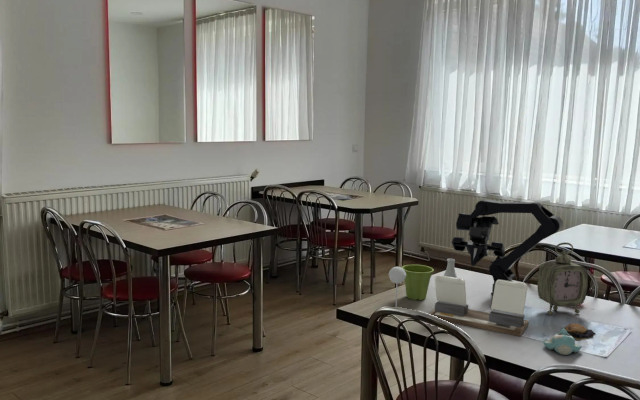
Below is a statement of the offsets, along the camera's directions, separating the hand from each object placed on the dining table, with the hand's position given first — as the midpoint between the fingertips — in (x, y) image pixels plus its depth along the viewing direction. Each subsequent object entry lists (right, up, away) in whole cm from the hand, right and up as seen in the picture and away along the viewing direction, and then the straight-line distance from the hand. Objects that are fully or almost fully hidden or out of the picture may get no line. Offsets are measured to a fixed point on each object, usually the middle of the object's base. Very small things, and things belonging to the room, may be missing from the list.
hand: (472, 265), depth 213 cm
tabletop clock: (+28, -16, -8) cm, 33 cm away
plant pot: (-20, -13, +5) cm, 24 cm away
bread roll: (+25, -19, -29) cm, 43 cm away
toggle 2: (+5, -13, -25) cm, 28 cm away
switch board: (-3, -16, -19) cm, 25 cm away
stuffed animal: (+15, -20, -42) cm, 49 cm away
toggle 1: (-11, -11, -15) cm, 22 cm away
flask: (-3, -10, +25) cm, 27 cm away
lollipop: (-29, -15, -7) cm, 33 cm away
